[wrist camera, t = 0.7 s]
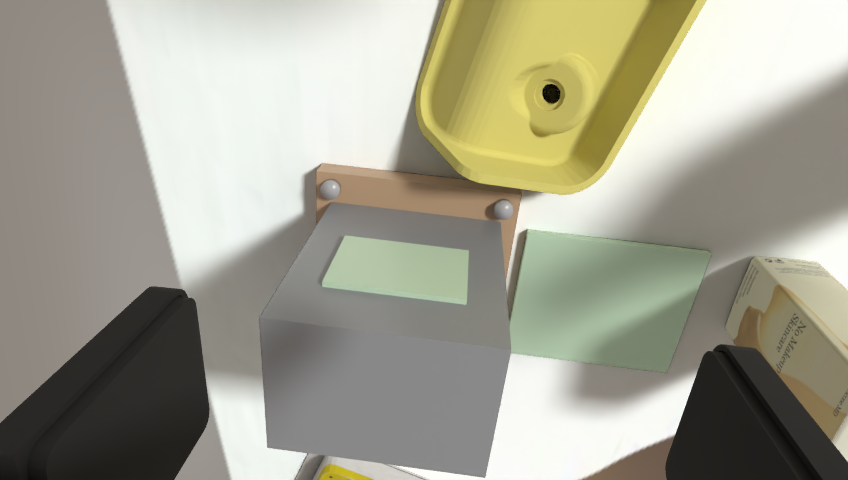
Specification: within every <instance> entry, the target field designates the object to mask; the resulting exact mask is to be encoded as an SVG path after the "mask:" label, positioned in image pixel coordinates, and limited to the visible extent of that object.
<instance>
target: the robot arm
mask: <svg viewBox="0 0 848 480" xmlns="http://www.w3.org/2000/svg"><path fill="white" fill-rule="evenodd" d="M208 418H209V402H208V394H207V386H206V379H205V371H204V363H203V355H202V347H201V339H200V332H199V324H198V316H197V308H196V303H195V301H194V299H192V298H188V296H187V294H186V292H185V291H184V290H182V289H174V288H164V287H149V288H148V289H146V290H145V291H144V292H143V293H142V294H141V295H140V296H139V297H137V298H136V299H135V300H134V301H133V302H132V303H131V304H130V305H129V306H128V307H126V308H125V309H124V310H123V311H122V312H121V313H120V314H119V315H118V316H117V317H116V318H114V319H113V320H112V321H111V322H110V323H109V324H108V325H107V326H106V327H105V328H104V329H102V330H101V331H100V332H99V333H98V334H97V335H96V336H95V337H94V338H93V339H92V340H90V341H89V342H88V343H87V344H86V345H85V346H84V347H83V348H82V349H81V350H80V351H78V353H76V354H75V355H74V356H73V357H72V358H71V359H70V360H69V361H67V362H66V363H65V364H64V365H63V366H62V367H61V368H60V369H59V370H58V371H57V372H56V373H54V374H53V375H52V376H51V377H50V378H49V379H48V380H47V381H46V382H45V383H44V384H42V385H41V386H40V387H39V388H38V389H37V390H36V391H35V392H34V393H33V394H31V396H29V397H28V398H27V399H26V400H25V401H24V402H23V403H22V404H21V405H19V406H18V407H17V408H16V409H15V410H14V411H13V412H12V413H11V414H10V415H9V416H7V417H6V418H5V419H4V420H3V421H2V422H1V423H0V480H174V479H175V477H176V476H177V474H178V473H179V471H180V469H181V467H182V466H183V464H184V463H185V461H186V459H187V458H188V456H189V454H190V453H191V451H192V449H193V447H194V446H195V444H196V443H197V441H198V440H199V438H200V436H201V435H202V433H203V431H204V430H205V428H206V425H207V422H208ZM666 478H667V480H848V461H847V460H846V459H845V458H844V456H843V455H842V454H841V453H840V451H839V450H838V449H837V448H836V446H835V445H834V444H833V443H832V441H831V440H830V439H829V438H828V436H827V435H826V434H825V433H824V432H823V430H822V429H821V428H820V427H819V425H818V424H817V423H816V422H815V420H814V419H813V418H812V417H811V415H810V414H809V413H808V412H807V410H806V409H805V408H804V407H803V405H802V404H801V403H800V402H799V400H798V399H797V398H796V397H795V395H794V394H793V393H792V392H791V390H790V389H789V388H788V387H787V385H786V384H785V383H784V382H783V380H782V379H781V378H780V377H779V375H778V374H777V373H776V372H775V370H774V369H773V368H772V367H771V365H770V364H769V363H768V362H767V360H766V359H765V358H764V357H763V355H762V354H761V353H760V352H759V351H758V350H757V349H755V348H752V347H743V346H733V345H723V344H721V345H718V346H717V347H716V348H715V349H714V350H713V352H712V351H708V352H706V353H705V354H704V356H703V358H702V361H701V364H700V366H699V369H698V372H697V375H696V378H695V381H694V383H693V386H692V389H691V392H690V395H689V398H688V401H687V403H686V406H685V409H684V412H683V415H682V418H681V420H680V423H679V426H678V429H677V432H676V435H675V437H674V440H673V443H672V446H671V449H670V452H669V454H668V458H667V461H666Z"/></svg>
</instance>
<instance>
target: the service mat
mask: <svg viewBox="0 0 848 480" xmlns="http://www.w3.org/2000/svg"><path fill="white" fill-rule="evenodd" d="M710 258H711V254H710V252H709V251H706V250H698V249H689V248H681V247H673V246H664V245H656V244H647V243H639V242H631V241H622V240H614V239H605V238H597V237H588V236H580V235H572V234H563V233H555V232H546V231H538V230H529V229H527V233H526V238H525V244H524V249H523V254H522V259H521V264H520V269H519V274H518V279H517V284H516V289H515V295H514V300H513V305H512V310H511V315H510V320H509V328H510V340H511V353H514V354H522V355H529V356H537V357H545V358H553V359H561V360H568V361H576V362H584V363H592V364H600V365H607V366H615V367H623V368H631V369H639V370H646V371H654V372H662V373H667V371H668V368H669V366H670V363H671V361H672V358H673V355H674V353H675V350H676V347H677V345H678V342H679V340H680V337H681V334H682V332H683V329H684V326H685V324H686V321H687V318H688V316H689V313H690V311H691V308H692V305H693V303H694V300H695V297H696V295H697V292H698V290H699V287H700V284H701V282H702V279H703V276H704V274H705V271H706V268H707V266H708V263H709V261H710Z"/></svg>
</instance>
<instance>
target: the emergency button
mask: <svg viewBox="0 0 848 480" xmlns="http://www.w3.org/2000/svg"><path fill="white" fill-rule="evenodd" d="M295 480H430V479H427V478H425V477H422V476H419V475H417V474H414V473H412V472H409V471H407V470H404V469H401V468H399V467H396V466H394V465H390V464H383V463H375V462H368V461H361V460H354V459H346V458H339V457H332V456H325V455H317V454H310V453H308V455H307V457H306V459H305V461H304V463H303V465H302V467H301V469H300V471H299V473H298V475H297V477H296V479H295Z"/></svg>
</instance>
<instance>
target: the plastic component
mask: <svg viewBox="0 0 848 480" xmlns="http://www.w3.org/2000/svg"><path fill="white" fill-rule="evenodd" d="M705 2H706V0H445V3H444V6H443V9H442V12H441V15H440V18H439V21H438V24H437V27H436V30H435V33H434V36H433V39H432V42H431V45H430V48H429V51H428V54H427V57H426V60H425V63H424V66H423V69H422V72H421V75H420V78H419V81H418V84H417V90H416V101H415V109H416V117H417V121H418V125H419V128H420V130H421V132H422V134H423V135H424V136H425V138H426V139H427V140H428V141H429V142H430V143H431V144H432V145H433V146H434V147H435V149H436V150H437V151H438V152H439V153H440V154H441V155H442V156H443V157H444V158H445V160H446V161H447V162H448V163H449V164H450V165H451V166H452V167H453V168H454V169H455V171H457V172H458V173H459V174H460V175H462V176H464V177H465V178H467V179H469V180H472V181H475V182H478V183H483V184H490V185H497V186H504V187H511V188H518V189H525V190H532V191H539V192H545V193H552V194H559V195H567V194H573V193H576V192H580V191H582V190H584V189H586V188H588V187H590V186H591V185H592V184H594V183H595V182H596V181H598V180H599V179H600V178H601V177H602V176H603V175H604V174H605V172H606V171H607V170H608V169H609V167H610V166H611V164H612V162H613V161H614V159H615V157H616V156H617V154H618V152H619V150H620V149H621V147H622V145H623V143H624V142H625V140H626V138H627V137H628V135H629V133H630V131H631V130H632V128H633V126H634V124H635V123H636V121H637V119H638V118H639V116H640V114H641V112H642V111H643V109H644V107H645V105H646V104H647V102H648V100H649V99H650V97H651V95H652V93H653V92H654V90H655V88H656V86H657V85H658V83H659V81H660V80H661V78H662V76H663V74H664V73H665V71H666V69H667V68H668V66H669V64H670V62H671V61H672V59H673V57H674V55H675V54H676V52H677V50H678V49H679V47H680V45H681V43H682V42H683V40H684V38H685V36H686V35H687V33H688V31H689V30H690V28H691V26H692V24H693V23H694V21H695V19H696V17H697V16H698V14H699V12H700V11H701V9H702V7H703V5H704V4H705ZM547 84H554V85H556V86H557V87H558V88H559V90H560V91H561V92H560V99H559V100H558V101H557V102H556V103H548V102H547V101H546V100H544V98H543V95H542V93H543V88H544V87H545V86H546V85H547Z"/></svg>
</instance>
